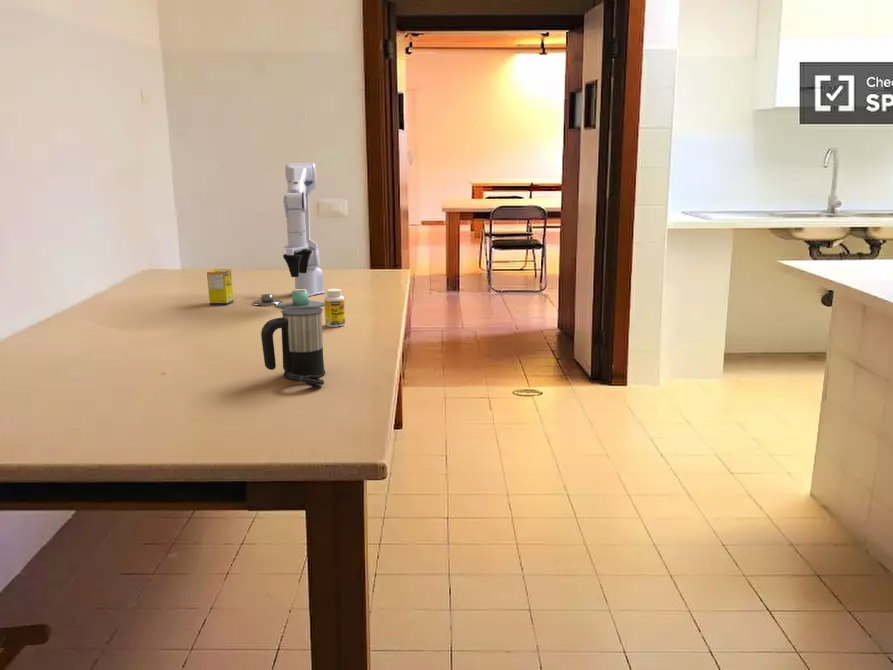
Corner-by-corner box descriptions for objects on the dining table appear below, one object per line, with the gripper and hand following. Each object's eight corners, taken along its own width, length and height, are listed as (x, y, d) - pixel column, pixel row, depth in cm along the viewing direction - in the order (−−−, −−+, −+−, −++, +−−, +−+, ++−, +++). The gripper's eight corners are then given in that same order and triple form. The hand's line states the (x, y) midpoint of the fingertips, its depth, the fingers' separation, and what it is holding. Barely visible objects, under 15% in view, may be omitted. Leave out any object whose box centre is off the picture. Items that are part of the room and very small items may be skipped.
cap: (311, 302, 255) (309, 287, 253) (305, 305, 250) (303, 290, 249) (296, 302, 256) (295, 288, 255) (290, 305, 251) (288, 291, 250)
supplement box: (234, 301, 261) (231, 268, 258) (227, 305, 255) (224, 271, 252) (216, 301, 261) (213, 268, 259) (209, 305, 255) (206, 271, 253)
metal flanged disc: (269, 299, 263) (269, 291, 263) (287, 302, 258) (287, 294, 257) (247, 304, 257) (246, 295, 256) (265, 307, 251) (264, 298, 250)
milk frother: (307, 366, 184) (304, 303, 181) (355, 378, 174) (352, 312, 171) (257, 381, 174) (252, 314, 170) (304, 394, 164) (300, 324, 160)
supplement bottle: (330, 328, 221) (329, 292, 219) (322, 325, 226) (320, 289, 224) (348, 325, 224) (347, 290, 222) (340, 322, 229) (338, 287, 227)
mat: (303, 300, 261) (303, 299, 261) (328, 305, 254) (328, 303, 253) (274, 306, 252) (274, 305, 252) (299, 311, 245) (299, 309, 244)
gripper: (292, 229, 255) (294, 271, 258) (275, 234, 241) (278, 278, 244) (313, 229, 254) (315, 271, 257) (298, 234, 240) (300, 278, 243)
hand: (299, 274), depth 251 cm, fingers open, 7 cm apart
